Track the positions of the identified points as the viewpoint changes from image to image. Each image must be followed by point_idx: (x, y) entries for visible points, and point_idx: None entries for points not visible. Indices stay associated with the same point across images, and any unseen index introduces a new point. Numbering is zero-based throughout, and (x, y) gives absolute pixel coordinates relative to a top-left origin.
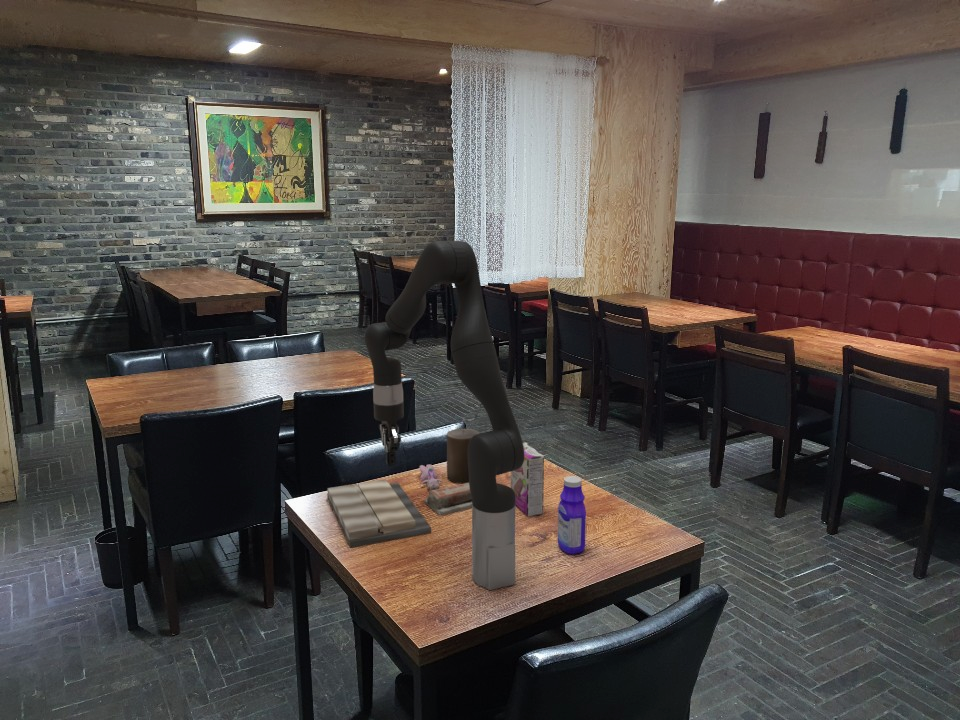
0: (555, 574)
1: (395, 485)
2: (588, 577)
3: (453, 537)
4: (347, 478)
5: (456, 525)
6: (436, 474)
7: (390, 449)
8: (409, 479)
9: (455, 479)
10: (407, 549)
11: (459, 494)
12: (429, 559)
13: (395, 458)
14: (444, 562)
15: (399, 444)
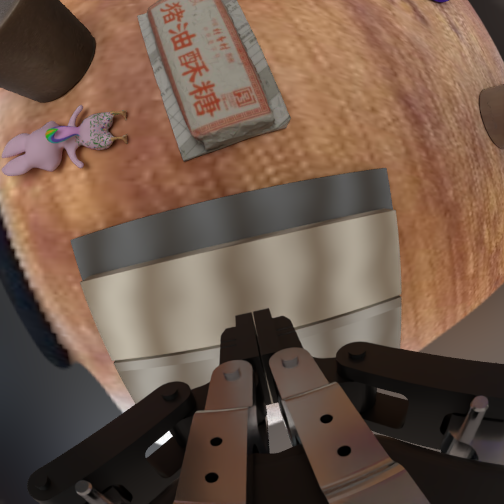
0: (481, 46)
1: (88, 247)
2: (478, 23)
3: (402, 125)
4: (42, 353)
5: (349, 99)
6: (49, 123)
7: (394, 400)
8: (37, 204)
9: (78, 73)
10: (428, 233)
11: (245, 50)
12: (460, 196)
13: (273, 323)
14: (469, 173)
15: (457, 359)
